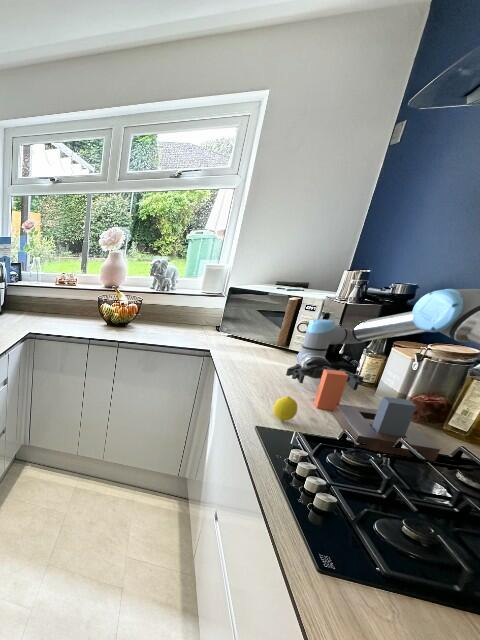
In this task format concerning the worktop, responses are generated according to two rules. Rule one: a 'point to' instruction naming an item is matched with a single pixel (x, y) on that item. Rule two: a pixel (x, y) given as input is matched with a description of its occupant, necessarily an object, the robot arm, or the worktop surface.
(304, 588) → the worktop surface
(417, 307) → the robot arm
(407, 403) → the pad
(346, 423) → the dock
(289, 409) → the lemon
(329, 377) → the pad
